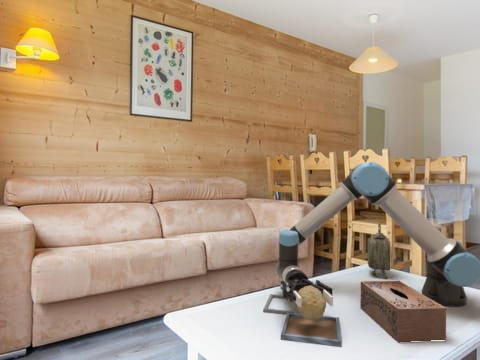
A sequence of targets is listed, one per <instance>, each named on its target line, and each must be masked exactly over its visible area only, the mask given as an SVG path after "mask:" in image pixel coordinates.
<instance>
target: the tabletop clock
mask: <svg viewBox="0 0 480 360" xmlns="http://www.w3.org/2000/svg"><path fill="white" fill-rule="evenodd" d="M377 225H378V226H377V229H378V231H377V232H376V233H375V234H374V235H373V236H371V237H369V238H367V255H366V256H367V259H366V260H367V266H368V268H369V269H372V270H373V271H372V272H371V274H372V276H375V275H376V271H377V270H379V271H381V273H382V274H383V278H384V280H387V279H388V275H387V274H386V273H385V272H386V271H391V266H392V265H391V261H392V260H391V258H392V257H391V256H392V254H391V253H392V250H391V249H392V248H391V247H392V246H391V241H390V239H389V237H386V236H385V234H384V233H382V231H381V228H382V225H381V223H378V224H377Z"/></svg>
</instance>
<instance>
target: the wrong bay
mask: <svg viewBox="0 0 480 360" xmlns="http://www.w3.org/2000/svg"><path fill="white" fill-rule="evenodd" d="M273 299H282V300H283V299H284V300H289V297H287V298H283V294H275V293H271V294H269V297H268V298H267V301H266V303H265V305H264V307H263V310H262V311H263V313H267V314H268V313H269V314H276V315H279V314H280V315H285V316H286V315H287V312H289V313H299V314H300V312H299V311H295V310H287V309H285V310H284V309H276V308H269V306H270V304H271V303H272V300H273Z"/></svg>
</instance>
